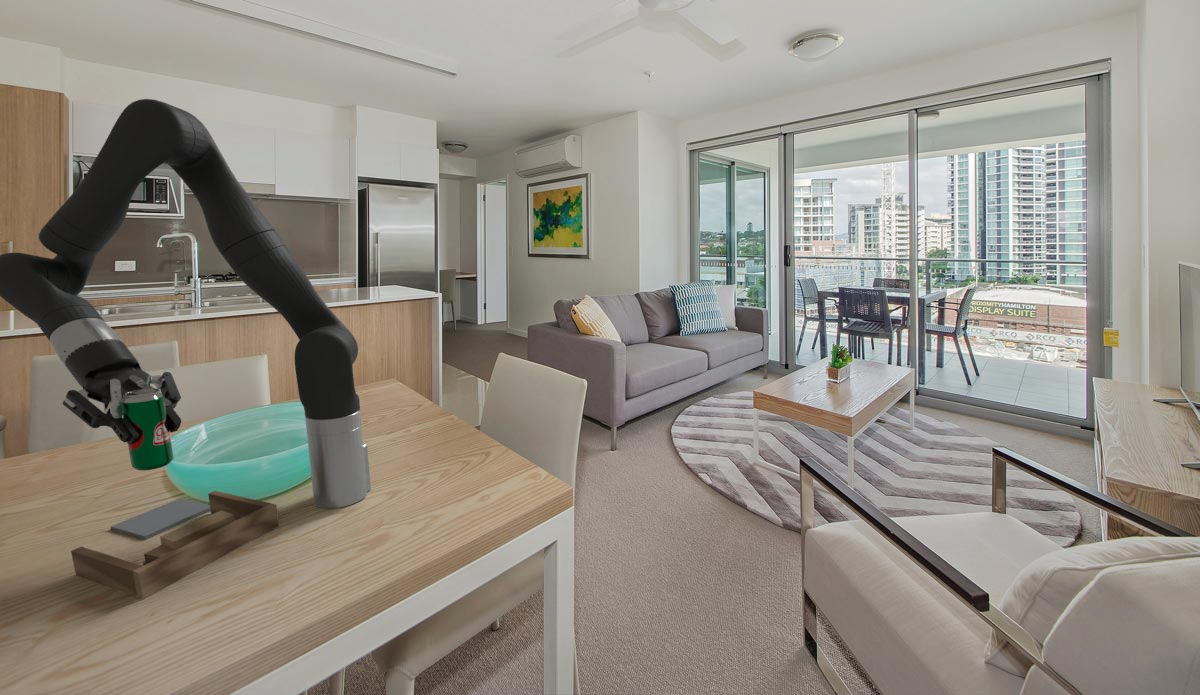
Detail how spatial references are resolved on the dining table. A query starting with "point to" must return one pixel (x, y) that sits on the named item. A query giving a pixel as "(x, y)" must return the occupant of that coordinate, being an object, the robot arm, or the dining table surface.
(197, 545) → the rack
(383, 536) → the dining table surface
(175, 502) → the mat
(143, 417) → the soda can
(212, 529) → the offcut stack
